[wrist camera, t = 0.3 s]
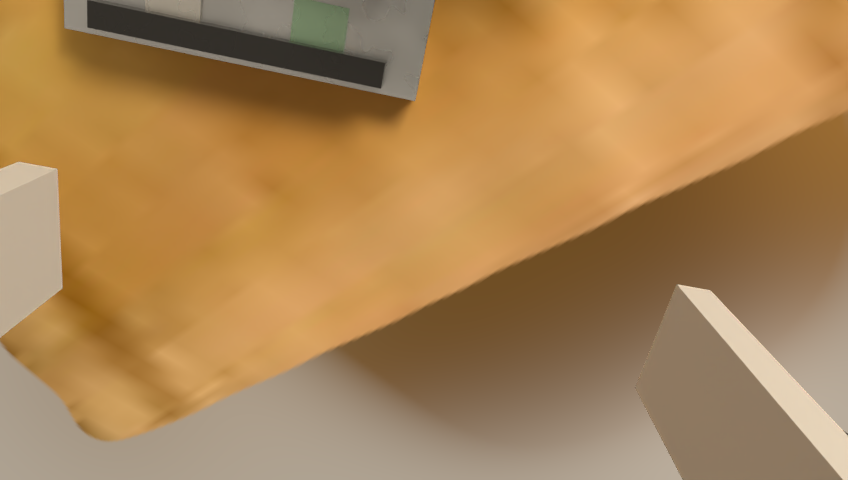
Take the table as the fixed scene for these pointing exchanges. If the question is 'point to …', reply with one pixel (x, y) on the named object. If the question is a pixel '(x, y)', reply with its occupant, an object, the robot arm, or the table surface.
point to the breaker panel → (278, 35)
